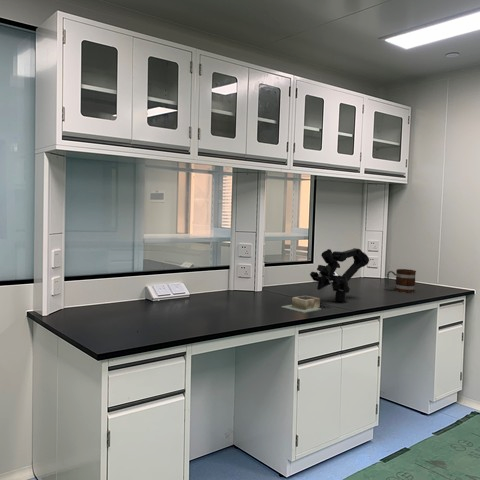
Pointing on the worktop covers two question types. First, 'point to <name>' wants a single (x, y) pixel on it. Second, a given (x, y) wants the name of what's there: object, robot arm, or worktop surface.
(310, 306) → the birch block
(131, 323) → the worktop surface
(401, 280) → the mug
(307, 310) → the mat
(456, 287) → the worktop surface
